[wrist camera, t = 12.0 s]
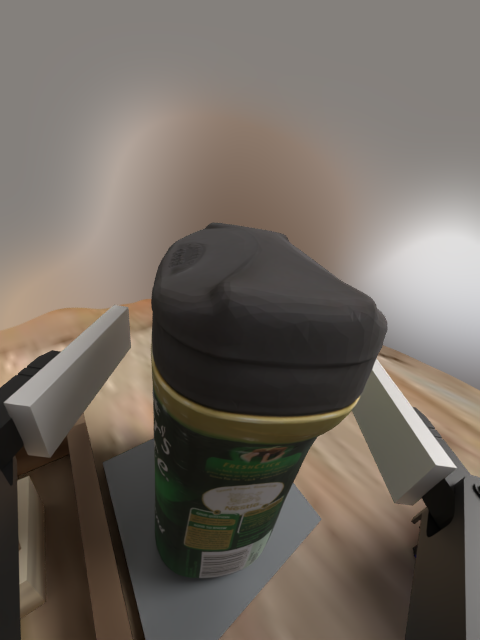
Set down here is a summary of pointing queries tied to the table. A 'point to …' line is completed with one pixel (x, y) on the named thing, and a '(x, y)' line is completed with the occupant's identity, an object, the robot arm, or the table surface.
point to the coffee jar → (245, 386)
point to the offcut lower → (31, 547)
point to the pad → (184, 592)
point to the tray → (90, 532)
